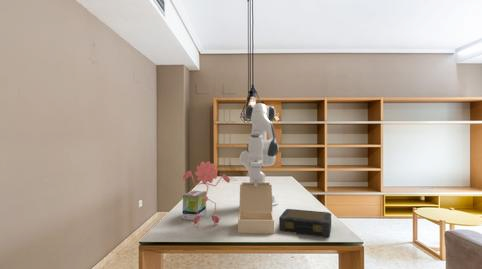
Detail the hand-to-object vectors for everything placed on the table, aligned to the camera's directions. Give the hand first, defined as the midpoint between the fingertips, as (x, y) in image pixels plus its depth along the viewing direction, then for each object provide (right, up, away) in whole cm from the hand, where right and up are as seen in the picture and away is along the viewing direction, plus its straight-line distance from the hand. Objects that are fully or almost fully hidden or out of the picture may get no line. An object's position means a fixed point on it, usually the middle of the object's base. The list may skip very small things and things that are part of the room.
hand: (255, 186), depth 163 cm
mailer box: (-1, -20, -14) cm, 24 cm away
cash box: (+26, -21, -13) cm, 36 cm away
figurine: (-28, -20, -5) cm, 35 cm away
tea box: (-37, -21, +9) cm, 43 cm away
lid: (0, -5, -3) cm, 6 cm away
